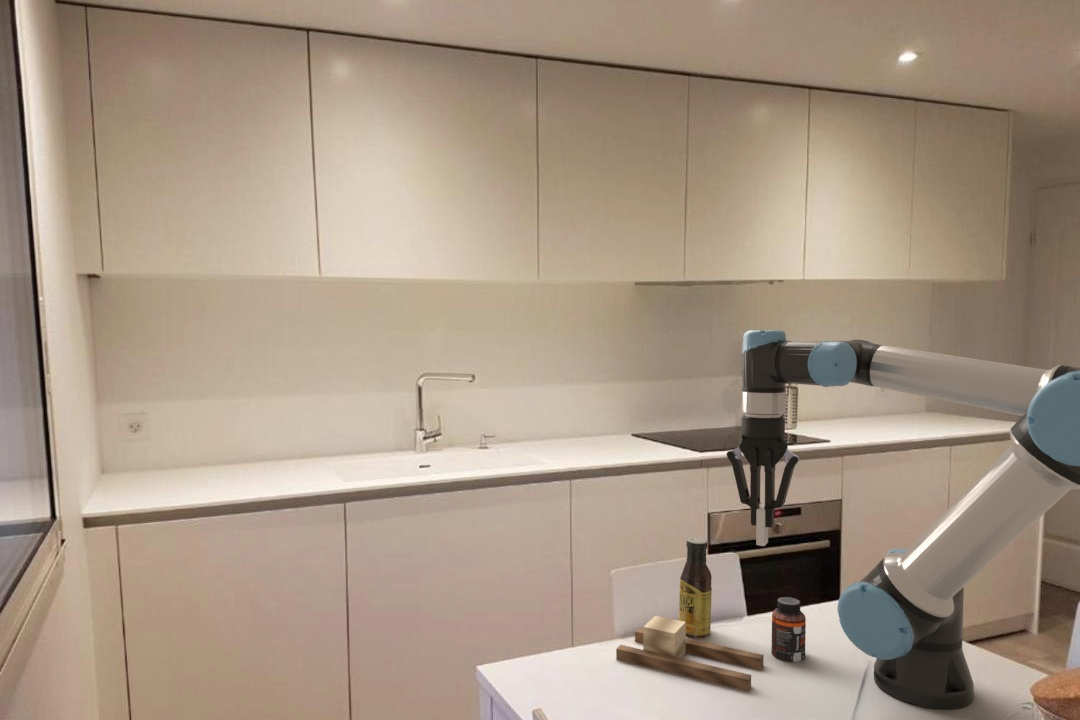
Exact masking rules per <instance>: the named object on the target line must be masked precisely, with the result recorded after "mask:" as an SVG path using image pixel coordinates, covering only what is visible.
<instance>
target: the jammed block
mask: <svg viewBox="0 0 1080 720" xmlns="http://www.w3.org/2000/svg"><path fill="white" fill-rule="evenodd" d="M642 629H643V643H642V646H643V647H642V648H643V649H642V650H646V651H650V652H655V653H659V654H663V655H667V656H672V657H676V658H680V659H683V658H684V656H685V655H686V654H687V653H686V638H687V636H686V622H684V621H679V619H678V620H677V619H673V618H668V617H662V616H659V615H654V616H653V618H651V619H649V621H648V622H647V623H645V625H643V628H642Z"/></svg>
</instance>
